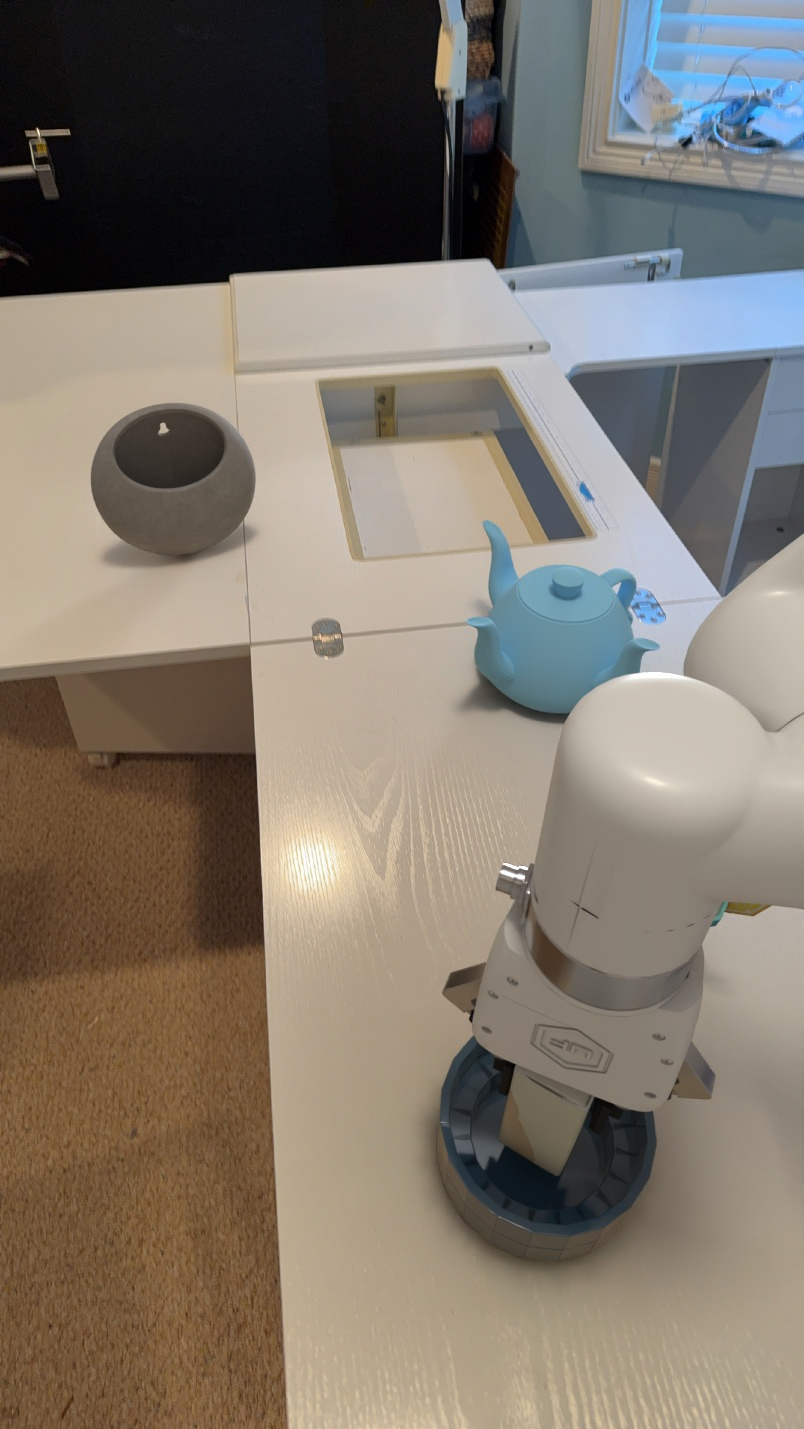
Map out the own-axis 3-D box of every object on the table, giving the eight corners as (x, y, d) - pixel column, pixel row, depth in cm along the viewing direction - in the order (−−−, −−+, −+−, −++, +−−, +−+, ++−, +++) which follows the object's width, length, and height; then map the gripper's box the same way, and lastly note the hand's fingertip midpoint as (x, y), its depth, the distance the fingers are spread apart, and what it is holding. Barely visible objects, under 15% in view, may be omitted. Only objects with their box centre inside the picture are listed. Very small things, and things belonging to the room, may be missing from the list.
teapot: (457, 722, 87) (464, 625, 78) (476, 607, 100) (484, 513, 91) (633, 743, 85) (661, 646, 76) (629, 623, 98) (652, 528, 89)
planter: (115, 583, 102) (74, 433, 89) (108, 550, 107) (68, 403, 94) (270, 553, 107) (253, 406, 94) (256, 522, 112) (238, 378, 99)
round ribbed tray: (654, 1097, 61) (674, 1059, 57) (610, 1303, 52) (629, 1278, 48) (475, 1025, 64) (481, 985, 60) (406, 1208, 56) (407, 1176, 52)
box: (530, 1072, 58) (552, 990, 50) (591, 1107, 56) (624, 1028, 48) (494, 1144, 55) (512, 1069, 47) (558, 1183, 53) (587, 1112, 45)
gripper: (400, 923, 38) (397, 1092, 51) (804, 1075, 34) (690, 1218, 47) (459, 801, 43) (443, 983, 56) (819, 919, 39) (712, 1088, 52)
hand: (555, 1088), depth 51 cm, fingers closed on box, 4 cm apart
